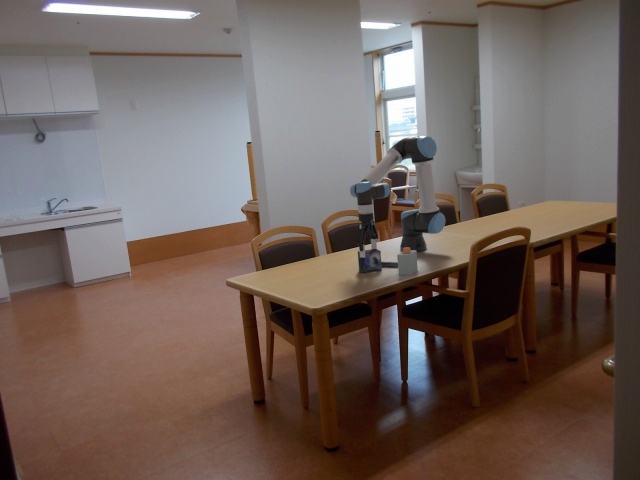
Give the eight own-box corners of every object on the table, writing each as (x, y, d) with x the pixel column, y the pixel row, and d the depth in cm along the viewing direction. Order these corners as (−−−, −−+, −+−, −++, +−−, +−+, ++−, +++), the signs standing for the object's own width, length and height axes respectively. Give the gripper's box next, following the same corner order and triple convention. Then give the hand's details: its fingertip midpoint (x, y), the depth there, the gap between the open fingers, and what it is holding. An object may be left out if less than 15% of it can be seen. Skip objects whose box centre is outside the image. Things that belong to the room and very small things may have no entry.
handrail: (370, 265, 290) (369, 259, 289) (410, 266, 278) (410, 260, 277) (368, 266, 288) (367, 260, 287) (409, 267, 276) (408, 261, 275)
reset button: (405, 257, 268) (404, 247, 267) (412, 257, 266) (411, 247, 266) (402, 258, 265) (401, 248, 264) (409, 258, 263) (408, 248, 263)
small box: (362, 273, 273) (361, 253, 272) (358, 271, 280) (356, 251, 278) (382, 270, 276) (380, 250, 274) (377, 268, 282) (376, 248, 280)
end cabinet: (406, 269, 273) (405, 250, 271) (417, 270, 270) (416, 250, 268) (398, 274, 265) (397, 254, 263) (410, 275, 261) (408, 255, 260)
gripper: (369, 209, 285) (372, 249, 288) (347, 216, 264) (350, 259, 267) (382, 209, 281) (385, 249, 285) (361, 216, 260) (364, 260, 264)
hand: (368, 254), depth 276 cm, fingers open, 13 cm apart
